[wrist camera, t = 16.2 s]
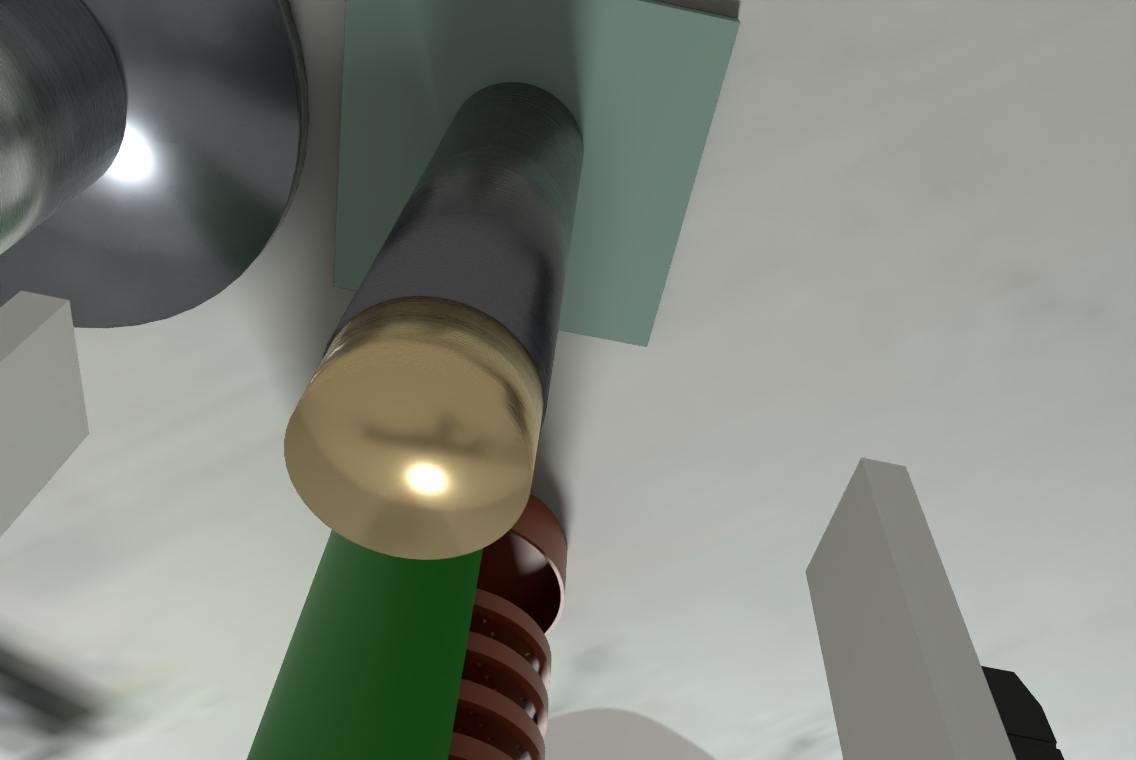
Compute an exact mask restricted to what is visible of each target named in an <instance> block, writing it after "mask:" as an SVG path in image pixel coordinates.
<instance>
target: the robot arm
mask: <svg viewBox="0 0 1136 760" xmlns="http://www.w3.org/2000/svg"><path fill="white" fill-rule="evenodd" d="M88 434H89V429H88V422H87V416H86V409H85V402H84V395H83V389H82V382H81V375H80V368H79V362H78V355H77V348H76V341H75V335H74V328H73V321H72V314H71V308H70V301H69V300H66V299H61V298H56V297H51V296H46V295H41V294H36V293H31V292H26V291H20V292H19V293H17V294H16V295H15V296H14V297H13V298H11V299H10V300H9V301H8V302H6V303H5V304H4V305H3V306H1V307H0V537H1V536H2V535H3V534H4V533H5V531H6V530H7V529H8V528H9V527H10V525H11V524H12V523H13V522H14V521H15V520H16V518H17V517H18V516H19V515H20V514H21V513H22V511H23V510H24V509H25V508H26V507H27V506H28V504H29V503H30V502H31V501H32V500H33V499H34V497H35V496H36V495H37V494H38V493H39V492H40V490H41V489H42V488H43V487H44V486H45V485H46V483H47V482H48V481H49V480H50V479H51V477H52V476H53V475H54V474H55V473H56V472H57V470H58V469H59V468H60V467H61V466H62V465H63V463H64V462H65V461H66V460H67V459H68V458H69V456H70V455H71V454H72V453H73V452H74V451H75V449H76V448H77V447H78V446H79V445H80V444H81V442H82V441H83V440H84V439H85V438H86V437H87V435H88ZM806 575H807V580H808V585H809V590H810V595H811V600H812V605H813V610H814V615H815V620H816V625H817V630H818V635H819V640H820V645H821V650H822V655H823V660H824V665H825V670H826V675H827V680H828V685H829V690H830V695H831V700H832V705H833V710H834V715H835V720H836V725H837V730H838V735H839V740H840V745H841V750H842V755H843V760H1064V758H1063V756H1062V753H1061V751H1060V749H1057V748H1056V743H1057V742H1056V739H1055V737H1054V734H1053V732H1052V730H1051V727H1050V725H1049V723H1048V720H1047V718H1046V716H1045V713H1044V711H1043V709H1042V706H1041V705H1040V704H1039V703H1038V701H1037V700H1036V699H1035V698H1034V696H1033V695H1032V694H1031V693H1030V691H1029V690H1028V689H1027V688H1026V686H1025V685H1024V684H1023V683H1022V681H1021V680H1020V679H1019V678H1018V676H1017V675H1016V674H1015V673H1014V672H1010V671H1005V670H1000V669H994V668H989V667H984V666H981V665H980V662H979V660H978V657H977V654H976V652H975V649H974V646H973V644H972V641H971V638H970V636H969V633H968V630H967V628H966V625H965V623H964V620H963V617H962V615H961V612H960V609H959V607H958V604H957V601H956V599H955V596H954V593H953V591H952V588H951V585H950V583H949V580H948V577H947V575H946V572H945V569H944V567H943V564H942V561H941V559H940V556H939V554H938V551H937V548H936V546H935V543H934V540H933V538H932V535H931V532H930V530H929V527H928V524H927V522H926V519H925V516H924V514H923V511H922V508H921V506H920V503H919V500H918V498H917V495H916V492H915V490H914V487H913V484H912V482H911V479H910V477H909V474H908V471H907V469H906V466H901V465H896V464H891V463H886V462H881V461H876V460H871V459H866V458H861V460H860V462H859V464H858V466H857V468H856V470H855V472H854V474H853V476H852V478H851V480H850V482H849V484H848V486H847V488H846V490H845V492H844V494H843V496H842V498H841V500H840V502H839V504H838V506H837V509H836V511H835V513H834V515H833V517H832V519H831V521H830V523H829V525H828V527H827V529H826V531H825V533H824V535H823V537H822V539H821V541H820V543H819V545H818V547H817V549H816V551H815V553H814V555H813V557H812V559H811V562H810V564H809V566H808V568H807V570H806Z"/></svg>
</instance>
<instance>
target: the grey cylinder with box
mask: <svg viewBox="0 0 1136 760" xmlns="http://www.w3.org/2000/svg"><path fill="white" fill-rule="evenodd" d="M126 111H127V107H126V98H125V90H124V86H123V82H122V78H121V73H120V71H119V68H118V65H117V62H116V60H115V57H114V54H113V52H112V50H111V48H110V46H109V44H108V42H107V40H106V38H105V36H104V35H103V33H102V32H101V30H100V28H99V27H98V25H97V23H96V22H95V20H94V19H93V18H92V16H91V15H90V14H89V12H88V11H87V10H86V8H85V7H84V6H83V4H82V3H81V2H80V1H79V0H0V255H1V254H2V253H3V252H5V251H6V250H7V249H9V248H10V247H11V246H13V245H14V244H15V243H17V242H18V241H19V240H20V239H22V238H23V237H24V236H26V235H27V234H28V233H30V232H31V231H32V230H33V229H35V228H36V227H37V226H39V225H40V224H41V223H43V222H44V221H45V220H46V219H48V218H49V217H50V216H52V215H53V214H54V213H56V212H57V211H58V210H59V209H61V208H62V207H63V206H65V205H66V204H67V203H69V202H70V201H71V200H72V199H74V198H75V197H76V196H78V195H79V194H80V193H82V192H83V191H84V190H85V189H87V188H88V187H89V186H91V185H92V184H93V183H94V182H96V181H97V180H98V179H99V178H100V177H102V176H103V175H104V174H105V172H106V171H107V170H108V169H109V168H110V166H111V165H112V164H113V162H114V160H115V158H116V157H117V155H118V153H119V150H120V148H121V145H122V142H123V139H124V133H125V128H126Z"/></svg>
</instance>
